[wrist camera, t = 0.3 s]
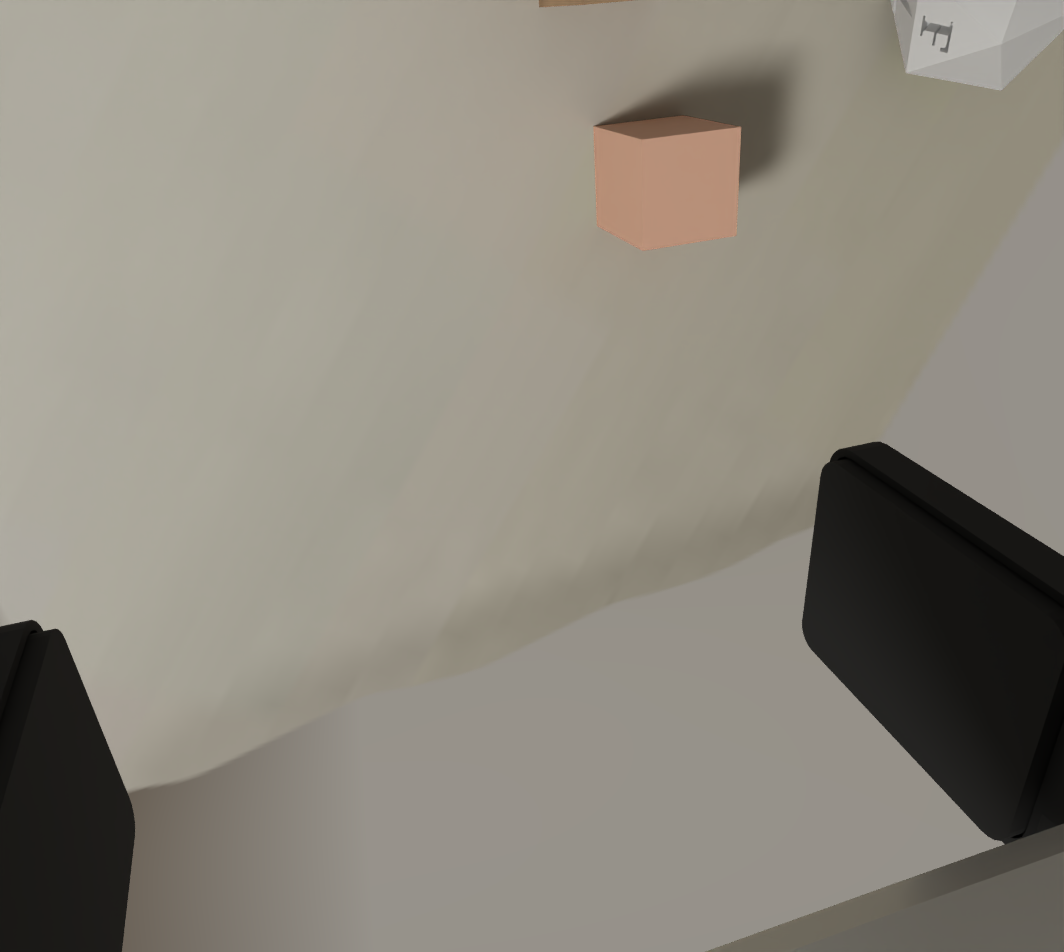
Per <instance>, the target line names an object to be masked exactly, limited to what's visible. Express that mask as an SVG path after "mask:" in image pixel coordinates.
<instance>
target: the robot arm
mask: <svg viewBox="0 0 1064 952" xmlns="http://www.w3.org/2000/svg"><path fill="white" fill-rule="evenodd" d="M802 628H803V634H804V637H805V640H806V642H807V644H808V646H809V647H810V648H811V650H812V651H813V652H814V653H815V654H816V655H817V656H818V657H819V658H820V659H821V660H822V662H823V663H824V664H825V665H826V666H827V667H828V668H829V669H830V670H831V671H832V672H833V673H834V674H835V675H836V676H837V677H838V679H839V680H840V681H841V682H842V683H843V684H844V685H845V686H846V687H847V688H848V689H849V690H850V691H851V692H852V693H853V694H854V696H855V697H856V698H857V699H858V700H859V701H860V702H861V703H862V704H863V705H864V706H865V707H866V708H867V709H868V710H869V712H870V713H871V714H872V715H873V716H874V717H875V718H876V719H877V720H878V721H879V722H880V723H881V724H882V725H883V726H884V727H885V729H886V730H887V731H888V732H889V733H890V734H891V735H892V736H893V737H894V738H895V739H896V740H897V741H898V742H899V743H900V745H901V746H902V747H903V748H904V749H905V750H906V751H907V752H908V753H909V754H910V755H911V756H912V757H913V758H914V759H915V760H916V761H917V763H918V764H919V765H920V766H922V768H923V769H924V770H925V771H926V772H927V773H928V774H929V775H930V776H931V777H932V779H934V781H935V782H936V783H937V784H938V785H939V786H940V787H941V788H942V789H943V790H944V791H945V792H946V793H947V795H948V796H949V797H951V799H952V800H953V801H954V802H955V803H956V804H957V805H958V806H959V807H960V808H961V809H962V810H963V811H964V813H965V814H966V815H967V816H968V817H969V818H970V819H971V820H972V821H973V822H974V823H975V824H976V825H977V826H978V827H979V829H980V830H981V831H982V832H984V833H985V834H986V835H987V836H988V837H990V838H992V839H994V840H999V841H1002V842H1003V843H1004V844H1005V845H1002V846H999V847H996V848H994V849H991V850H988V851H985V852H982V853H980V854H977V855H974V856H971V857H968V858H965V859H963V860H960V861H957V862H954V863H951V864H949V865H946V866H943V867H940V868H937V869H934V870H932V871H929V872H926V873H923V874H920V875H917V876H915V877H912V878H909V879H906V880H903V881H901V882H898V883H895V884H892V885H889V886H886V887H884V888H881V889H878V890H876V891H873V892H870V893H867V894H864V895H861V896H859V897H856V898H853V899H850V900H848V901H845V902H842V903H839V904H837V905H834V906H831V907H828V908H826V909H823V910H820V911H817V912H814V913H812V914H809V915H806V916H803V917H800V918H798V919H795V920H792V921H789V922H787V923H784V924H781V925H778V926H775V927H773V928H770V929H767V930H764V931H762V932H759V933H756V934H753V935H750V936H748V937H745V938H742V939H739V940H737V941H734V942H731V943H729V944H725V945H723V946H720V947H717V948H714V949H712V950H709V951H706V952H1064V556H1062V555H1060V554H1059V553H1058V552H1056V551H1054V550H1053V549H1051V548H1050V547H1048V546H1046V545H1045V544H1043V543H1042V542H1040V541H1038V540H1037V539H1035V538H1034V537H1032V536H1030V535H1029V534H1027V533H1026V532H1024V531H1023V530H1021V529H1019V528H1018V527H1016V526H1015V525H1013V524H1012V523H1010V522H1008V521H1007V520H1005V519H1004V518H1002V517H1000V516H999V515H997V514H996V513H994V512H993V511H991V510H989V509H988V508H986V507H985V506H983V505H982V504H980V503H978V502H977V501H975V500H974V499H972V498H970V497H969V496H967V495H966V494H964V493H963V492H961V491H959V490H958V489H956V488H955V487H953V486H952V485H950V484H948V483H947V482H945V481H943V480H942V479H940V478H939V477H937V476H936V475H934V474H932V473H931V472H929V471H928V470H926V469H925V468H923V467H921V466H920V465H918V464H917V463H915V462H914V461H912V460H910V459H909V458H907V457H905V456H904V455H902V454H901V453H899V452H898V451H896V450H895V449H893V448H891V447H890V446H888V445H887V444H884V443H882V442H871V443H867V444H862V445H857V446H852V447H848V448H843V449H839V450H838V451H836V452H834V454H833V456H832V457H831V459H830V462H829V463H827V464H826V465H825V466H824V467H823V469H822V472H821V477H820V485H819V493H818V501H817V509H816V517H815V525H814V533H813V541H812V548H811V556H810V565H809V572H808V580H807V588H806V596H805V604H804V612H803V619H802ZM134 838H135V821H134V813H133V809H132V804H131V801H130V798H129V796H128V793H127V791H126V789H125V786H124V784H123V781H122V779H121V776H120V774H119V771H118V769H117V766H116V764H115V761H114V759H113V756H112V754H111V751H110V749H109V747H108V744H107V742H106V739H105V737H104V734H103V732H102V729H101V727H100V724H99V722H98V719H97V717H96V714H95V712H94V709H93V707H92V705H91V702H90V700H89V697H88V695H87V692H86V690H85V687H84V685H83V682H82V680H81V677H80V675H79V672H78V670H77V667H76V665H75V663H74V660H73V658H72V655H71V653H70V650H69V648H68V645H67V643H66V640H65V638H64V636H63V634H62V633H61V632H60V631H59V630H58V629H52V630H47V631H43V630H42V628H41V626H40V625H39V624H38V623H37V622H36V621H33V620H29V621H24V622H20V623H15V624H10V625H5V626H1V627H0V952H122V945H123V944H122V943H123V936H124V927H125V918H126V909H127V900H128V892H129V883H130V874H131V865H132V856H133V847H134Z"/></svg>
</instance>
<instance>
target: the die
mask: <svg viewBox="0 0 1064 952" xmlns="http://www.w3.org/2000/svg"><path fill="white" fill-rule="evenodd" d="M891 5H892V10H893V13H894V14H895V16H894V19H895V24H896V28H897V33H898V38H899V43H900V47H901V52H902V57H903V61H904V66H905V71H906V73H909V74H915V75H920V76H925V77H931V78H936V79H942V80H947V81H953V82H958V83H963V84H969V85H974V86H980V87H985V88H991V89H996V90H1002V89H1003V88H1004V87H1005V86H1006V85H1007V84H1009V83H1010V82H1011V81H1012V80H1013V79H1014V78H1015V77H1016V76H1017V75H1018V74H1019V73H1020V72H1021V71H1022V70H1023V69H1024V68H1025V67H1026V66H1027V65H1028V64H1029V63H1030V62H1031V61H1032V60H1033V59H1034V58H1035V57H1036V56H1037V55H1038V54H1039V53H1040V52H1041V51H1042V50H1043V49H1044V48H1045V47H1046V46H1047V45H1049V44H1050V43H1051V42H1052V41H1053V40H1054V39H1055V38H1056V37H1057V36H1058V35H1059V34H1060V33H1061V32H1062V31H1063V30H1064V0H891Z"/></svg>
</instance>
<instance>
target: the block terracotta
mask: <svg viewBox="0 0 1064 952" xmlns="http://www.w3.org/2000/svg"><path fill="white" fill-rule="evenodd" d="M740 142H741V127H739V126H734V125H729V124H724V123H719V122H714V121H709V120H704V119H699V118H694V117H689V116H684V115H682V116H673V117H665V118H657V119H649V120H641V121H633V122H625V123H616V124H608V125H600V126H594V153H595V182H596V210H597V226H598V227H600V228H602V229H604V230H605V231H607V232H609V233H611V234H613V235H615V236H616V237H618V238H620V239H622V240H624V241H626V242H628V243H629V244H631V245H633V246H635V247H637V248H639V249H640V250H642V251H645V250H651V249H657V248H663V247H670V246H676V245H682V244H688V243H694V242H701V241H707V240H713V239H719V238H725V237H732V236H736V234H737V211H738V188H739V165H740Z"/></svg>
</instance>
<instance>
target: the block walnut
mask: <svg viewBox="0 0 1064 952" xmlns="http://www.w3.org/2000/svg"><path fill="white" fill-rule="evenodd" d="M620 1H632V0H539V7H551V6H569V5H586V4H597V3H609V2H620Z"/></svg>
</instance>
